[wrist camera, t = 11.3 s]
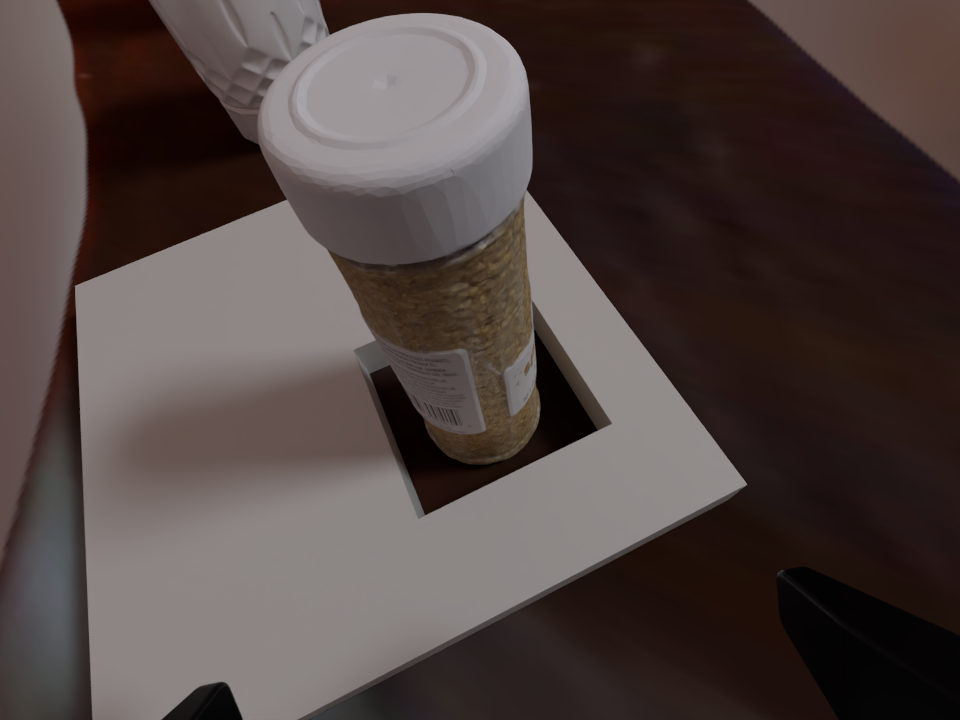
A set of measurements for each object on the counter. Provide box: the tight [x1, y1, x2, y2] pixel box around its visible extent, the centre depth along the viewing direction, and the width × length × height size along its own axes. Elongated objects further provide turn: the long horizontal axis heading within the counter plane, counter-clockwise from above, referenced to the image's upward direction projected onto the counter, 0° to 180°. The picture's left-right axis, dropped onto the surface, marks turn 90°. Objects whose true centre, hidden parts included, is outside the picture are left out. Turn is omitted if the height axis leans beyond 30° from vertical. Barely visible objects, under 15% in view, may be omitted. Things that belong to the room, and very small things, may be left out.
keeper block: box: [75, 190, 747, 720], centre depth 20 cm, size 20×20×2 cm
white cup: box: [148, 0, 330, 144], centre depth 26 cm, size 8×8×10 cm
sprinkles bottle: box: [257, 13, 540, 465], centre depth 14 cm, size 5×5×13 cm
